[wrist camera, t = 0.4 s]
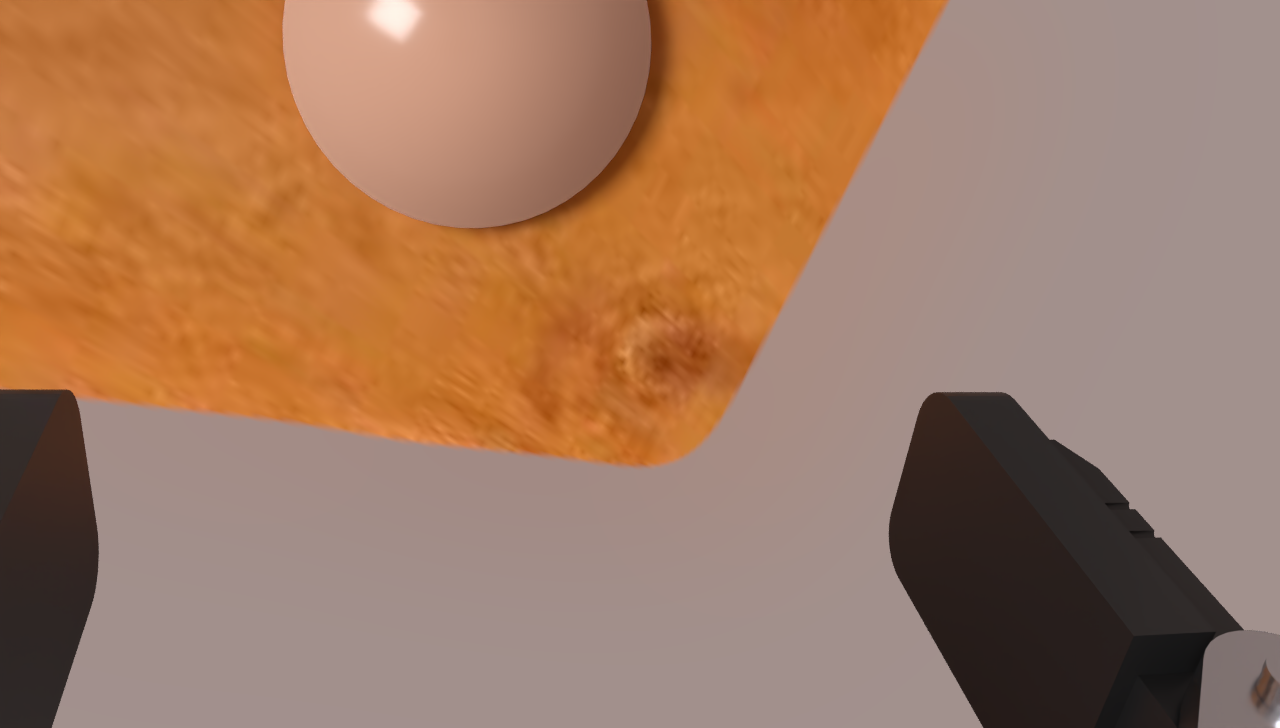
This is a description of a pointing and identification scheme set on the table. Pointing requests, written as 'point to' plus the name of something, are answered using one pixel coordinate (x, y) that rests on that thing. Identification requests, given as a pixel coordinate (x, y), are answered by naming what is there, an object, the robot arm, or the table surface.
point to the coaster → (468, 98)
